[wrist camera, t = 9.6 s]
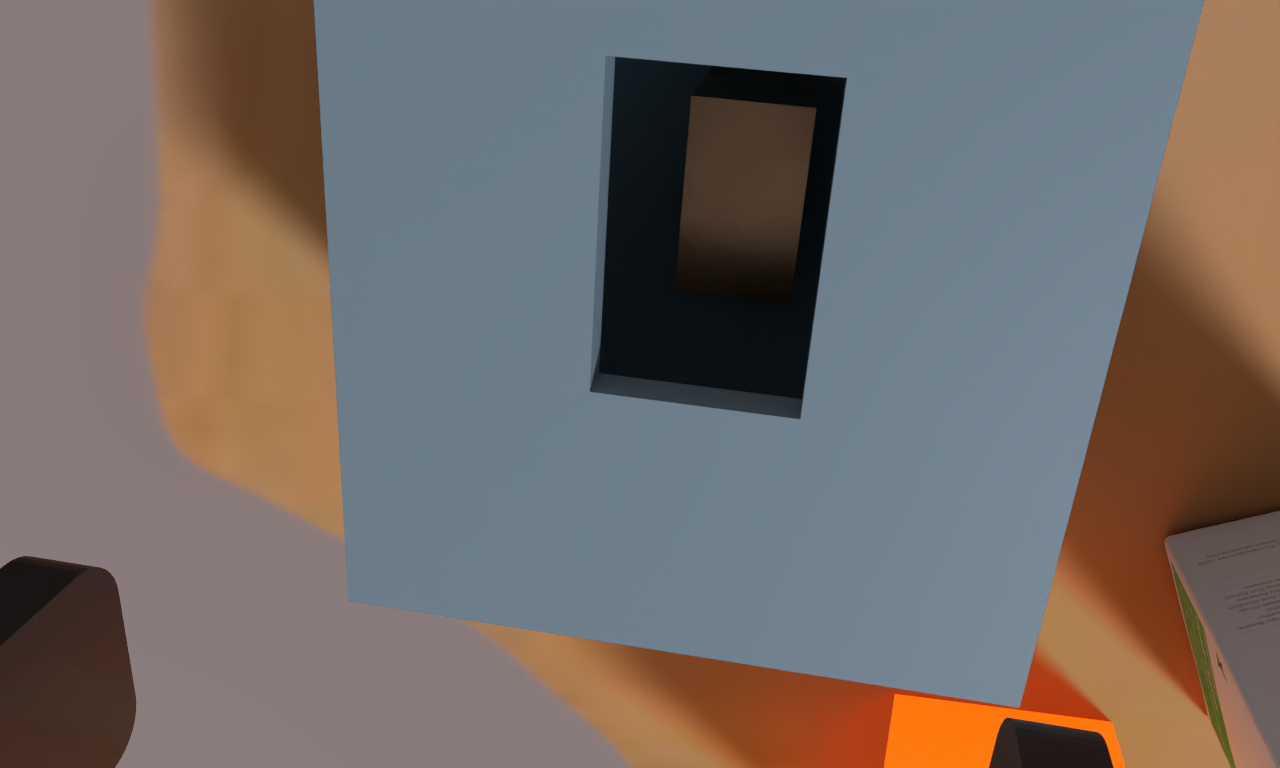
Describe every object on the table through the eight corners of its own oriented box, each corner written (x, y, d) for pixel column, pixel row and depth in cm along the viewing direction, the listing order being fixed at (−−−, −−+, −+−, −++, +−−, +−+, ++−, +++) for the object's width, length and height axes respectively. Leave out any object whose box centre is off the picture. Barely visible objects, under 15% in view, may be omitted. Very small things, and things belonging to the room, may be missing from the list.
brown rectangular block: (821, 73, 31) (816, 107, 27) (798, 246, 33) (790, 304, 29) (714, 63, 32) (691, 95, 27) (698, 234, 34) (674, 290, 29)
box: (1120, -250, 28) (1288, -324, 17) (970, 459, 36) (1019, 708, 26) (493, -283, 30) (292, -368, 19) (489, 396, 38) (348, 601, 28)
